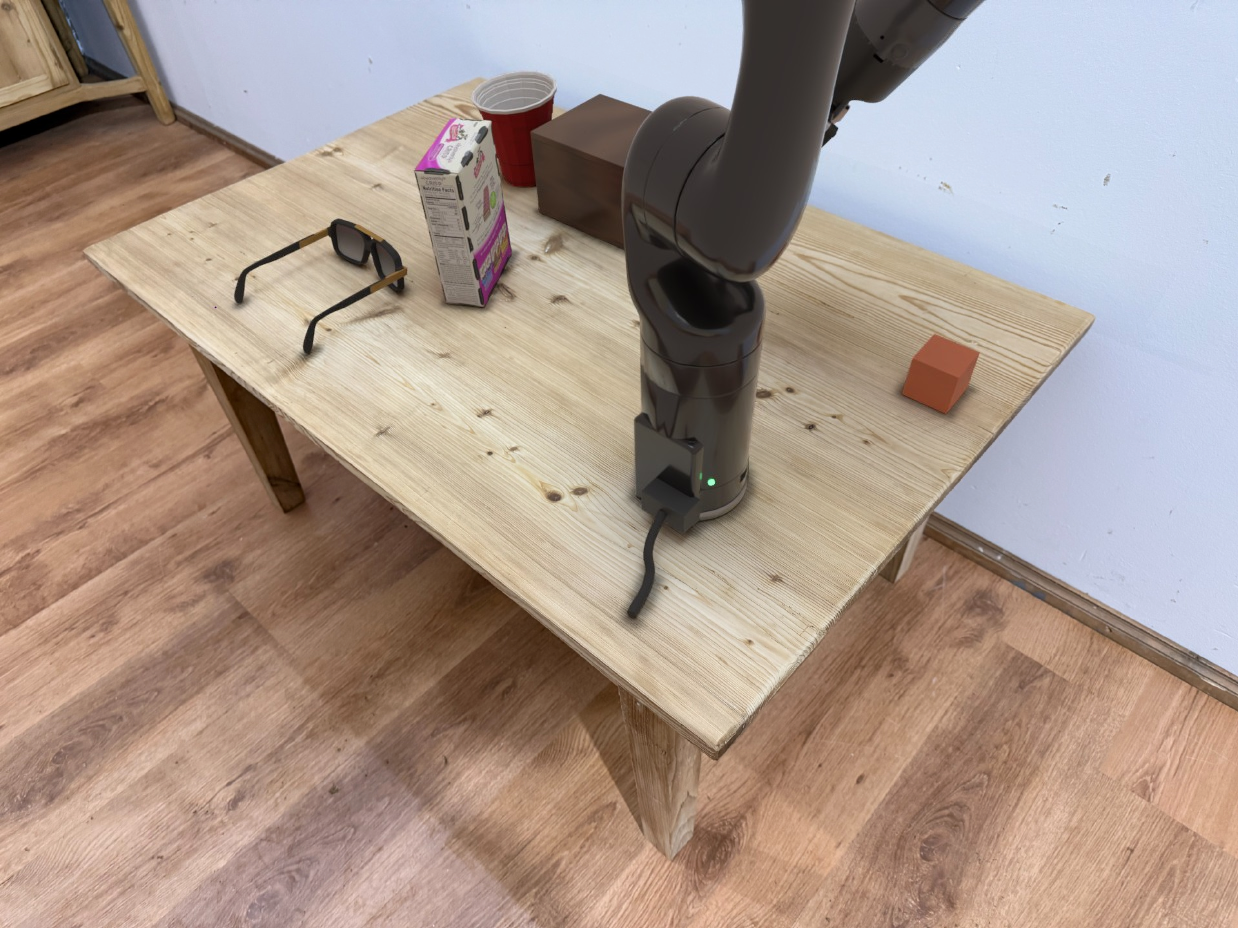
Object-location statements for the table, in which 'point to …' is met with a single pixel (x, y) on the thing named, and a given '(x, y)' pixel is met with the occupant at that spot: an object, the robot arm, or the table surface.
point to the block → (940, 373)
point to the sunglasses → (353, 248)
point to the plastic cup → (516, 118)
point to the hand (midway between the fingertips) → (767, 154)
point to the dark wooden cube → (586, 165)
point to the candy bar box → (465, 210)
